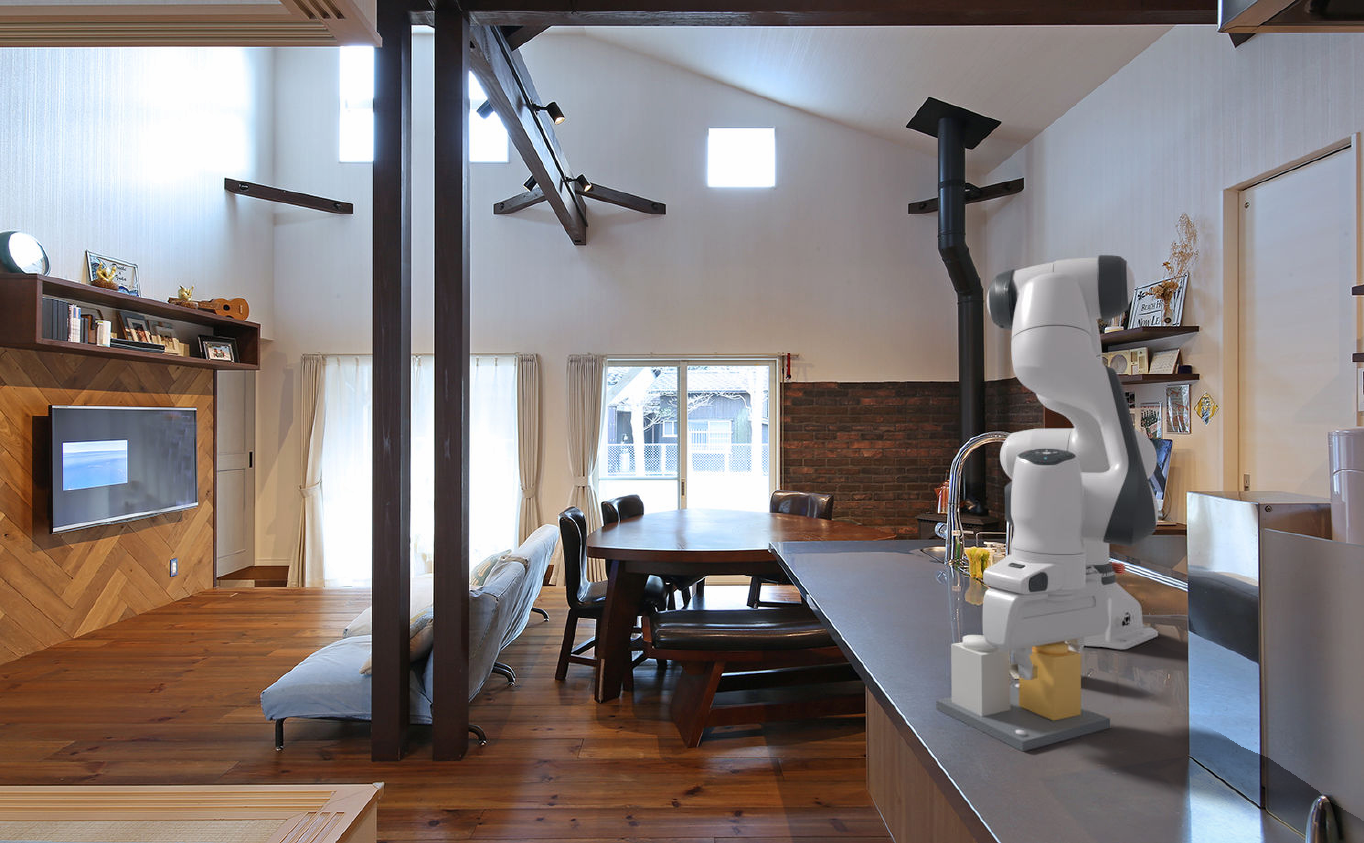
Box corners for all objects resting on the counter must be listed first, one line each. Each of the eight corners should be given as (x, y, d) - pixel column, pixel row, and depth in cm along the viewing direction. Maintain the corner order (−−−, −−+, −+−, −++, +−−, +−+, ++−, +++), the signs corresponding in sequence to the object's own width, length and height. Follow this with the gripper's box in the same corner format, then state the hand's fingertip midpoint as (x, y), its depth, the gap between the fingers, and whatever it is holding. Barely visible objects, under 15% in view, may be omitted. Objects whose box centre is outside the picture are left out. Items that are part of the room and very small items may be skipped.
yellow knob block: (1045, 700, 96) (1046, 635, 96) (1080, 714, 91) (1081, 646, 91) (1018, 705, 94) (1019, 639, 94) (1053, 720, 89) (1053, 650, 89)
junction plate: (1018, 690, 103) (1017, 622, 103) (1110, 727, 90) (1109, 649, 90) (936, 708, 96) (935, 635, 96) (1022, 751, 83) (1021, 666, 83)
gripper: (1078, 560, 100) (1079, 656, 100) (973, 572, 91) (974, 677, 91) (1121, 568, 94) (1122, 670, 94) (1013, 582, 86) (1014, 694, 86)
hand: (1048, 674), depth 92 cm, fingers open, 6 cm apart
